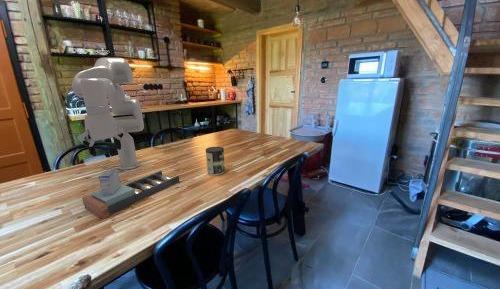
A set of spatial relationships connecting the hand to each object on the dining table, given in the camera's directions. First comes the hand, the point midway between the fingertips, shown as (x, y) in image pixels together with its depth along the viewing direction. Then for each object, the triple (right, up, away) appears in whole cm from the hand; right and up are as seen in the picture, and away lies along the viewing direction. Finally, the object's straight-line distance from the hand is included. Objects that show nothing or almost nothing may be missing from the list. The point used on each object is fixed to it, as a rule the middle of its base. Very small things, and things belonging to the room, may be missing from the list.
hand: (106, 152), depth 91 cm
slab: (0, -20, +4) cm, 20 cm away
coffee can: (+40, -13, +37) cm, 56 cm away
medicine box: (0, -17, +4) cm, 18 cm away
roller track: (+6, -20, +14) cm, 25 cm away
